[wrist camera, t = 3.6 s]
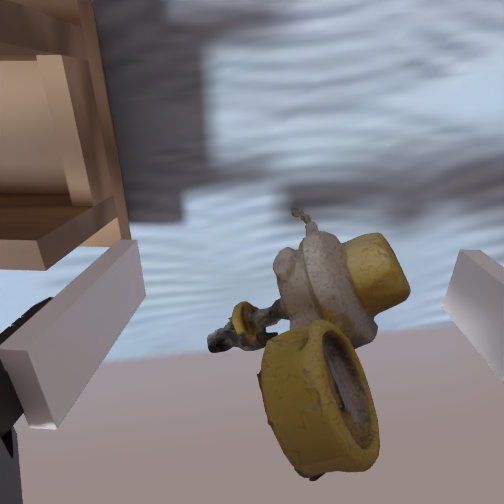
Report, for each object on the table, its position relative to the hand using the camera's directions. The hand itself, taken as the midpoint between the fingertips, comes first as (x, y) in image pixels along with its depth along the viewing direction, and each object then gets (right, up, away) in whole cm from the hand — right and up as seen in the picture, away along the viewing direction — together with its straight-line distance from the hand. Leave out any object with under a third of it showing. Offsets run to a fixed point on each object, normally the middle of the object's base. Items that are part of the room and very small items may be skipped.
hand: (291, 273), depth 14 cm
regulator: (0, +3, +6) cm, 7 cm away
